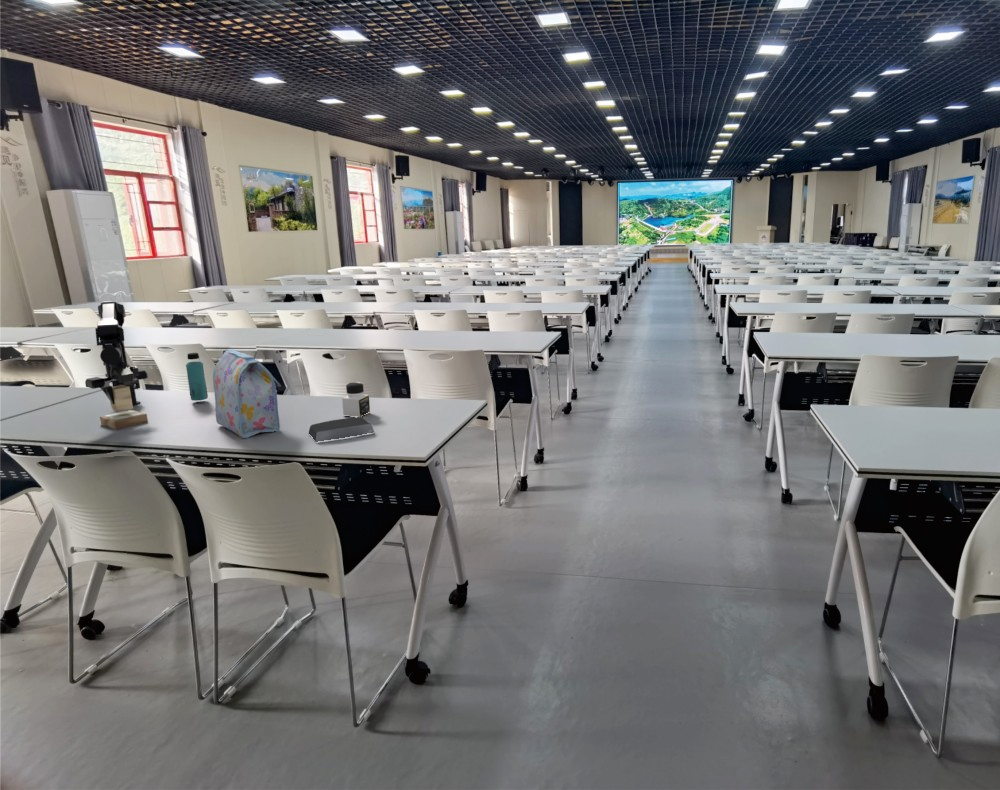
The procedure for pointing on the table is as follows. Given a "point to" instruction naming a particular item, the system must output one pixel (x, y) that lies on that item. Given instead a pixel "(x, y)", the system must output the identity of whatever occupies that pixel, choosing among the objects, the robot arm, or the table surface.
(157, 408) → the table surface
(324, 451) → the table surface
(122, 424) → the picture frame
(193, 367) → the beverage bottle
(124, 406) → the oak block
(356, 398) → the medicine bottle
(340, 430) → the external hard drive
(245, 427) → the lunch bag
